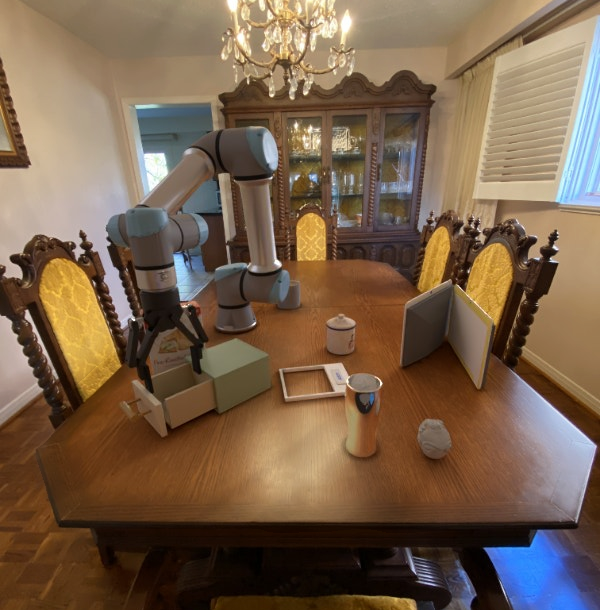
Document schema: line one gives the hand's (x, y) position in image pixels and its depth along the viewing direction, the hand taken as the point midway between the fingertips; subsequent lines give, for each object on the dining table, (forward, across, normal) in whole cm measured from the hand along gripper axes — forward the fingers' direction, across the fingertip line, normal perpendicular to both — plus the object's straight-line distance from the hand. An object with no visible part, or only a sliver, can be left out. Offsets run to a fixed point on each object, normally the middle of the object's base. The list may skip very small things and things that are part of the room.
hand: (174, 381), depth 78 cm
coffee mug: (+8, +67, +39) cm, 78 cm away
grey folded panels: (+8, +66, -30) cm, 72 cm away
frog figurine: (+8, +28, -48) cm, 57 cm away
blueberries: (+6, 0, 0) cm, 6 cm away
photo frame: (+8, +31, -14) cm, 35 cm away
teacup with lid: (+8, +52, -5) cm, 53 cm away
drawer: (+7, -2, 0) cm, 8 cm away
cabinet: (+8, +14, 0) cm, 16 cm away
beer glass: (+8, +20, -37) cm, 43 cm away
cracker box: (+8, +7, +14) cm, 18 cm away
